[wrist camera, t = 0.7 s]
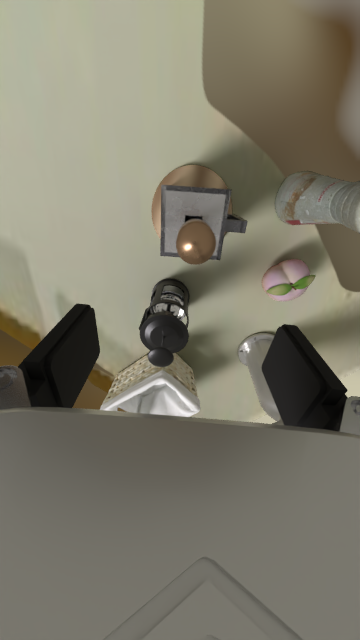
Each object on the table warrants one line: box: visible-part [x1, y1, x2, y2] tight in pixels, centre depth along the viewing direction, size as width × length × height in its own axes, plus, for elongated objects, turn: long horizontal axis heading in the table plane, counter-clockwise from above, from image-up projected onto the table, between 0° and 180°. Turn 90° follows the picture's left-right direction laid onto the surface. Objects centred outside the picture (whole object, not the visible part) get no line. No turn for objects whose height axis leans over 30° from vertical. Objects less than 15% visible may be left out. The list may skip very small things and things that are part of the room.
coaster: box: [152, 165, 232, 239], centre depth 42 cm, size 16×16×1 cm
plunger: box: [176, 215, 216, 264], centre depth 27 cm, size 6×6×19 cm
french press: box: [139, 279, 189, 367], centre depth 43 cm, size 12×9×23 cm
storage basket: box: [100, 353, 200, 417], centre depth 61 cm, size 24×16×15 cm
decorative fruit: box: [262, 259, 315, 301], centre depth 44 cm, size 9×8×10 cm
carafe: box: [161, 185, 247, 260], centre depth 35 cm, size 12×9×15 cm
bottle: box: [275, 171, 360, 233], centre depth 28 cm, size 9×9×28 cm
